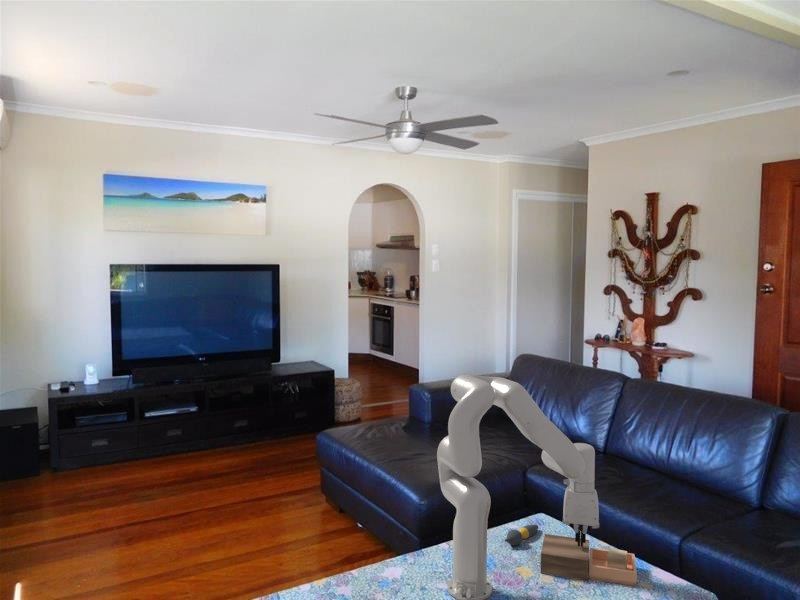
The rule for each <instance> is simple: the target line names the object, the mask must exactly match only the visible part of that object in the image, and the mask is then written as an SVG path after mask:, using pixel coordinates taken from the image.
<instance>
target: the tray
mask: <svg viewBox="0 0 800 600" xmlns="http://www.w3.org/2000/svg"><path fill="white" fill-rule="evenodd" d="M608 552H609V549H601V548H594V547H589V571H588V580H593V581H598V582H606V583H612V584H618V585H626V586H631V587H637V583H638V576H637V575H638V573H637V564H636V562H637V561H636V557H635V553H632V552H631V553H630V552H627V569H626V570H623V569H616V568H610V567H607V557H608Z"/></svg>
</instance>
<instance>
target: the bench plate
mask: <svg viewBox="0 0 800 600" xmlns="http://www.w3.org/2000/svg"><path fill="white" fill-rule="evenodd" d="M589 556H590V539H586V543H583V547H581V538H580V546H578V542H575V537H570V536H563V535H555V534H550V533H544V537H543V542H542V546H541V552H540V574H545V575H549V576H557V577H563V578H570V579H577V580H583V581H589Z"/></svg>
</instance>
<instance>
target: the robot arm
mask: <svg viewBox="0 0 800 600" xmlns="http://www.w3.org/2000/svg"><path fill="white" fill-rule="evenodd" d="M450 394H451V396H452V398H453V399H454V400H455V402H457V403H456V404H455V406H454V407H453V408H452V411H451V412H450V415H449V416H448V417H449V418H448V422H447V424H448V425H447V431H448V435H446V436H445V437H443V439H442V440H441V441H440V442H439V444H438V447H437V451H436V459H437V466H438V467H437V468H438V476H439V484H440V490H441V492H442V495H443V496H444V498H445V499H446V500H447V501H448V502H450V504H452V505H453V506H454V507H455V509H456V513H455V518H454V520H453V527H452V578H450V579H449V580H448V582H447V585H446V586H447V592H448V593H449V595H451V596H452V597H453V598H454V599H456V600H486V599H489V598H490V596H491V595H492V593H493V586H492V584H491V582H490V581H489V580H488V579H487V577H488V575H487V574H488V573H487V572H488V570H487V568H488V519H489V515H490V509H491V503H492V502H491V500H492V499H491V496H490V492H489V491H488V489H487V488H486V487H485V485H484V484H483V483H481V482H480V481H479V480H477V479H476V478H475V477H476V476H478V474H479V473H480V472H481V469H482V465H483V459H482V458H483V457H482V451H481V440H480V423H481V420H482V418H483V416H484V415H485V414H486V413H487V411H488V410H490V408H492V406H493V405H494V406H497V407H498V408H501V409H502V410H503V411H504V412H505V413H506V415H507V416H508V417H509V419H511V421H512V422H513V424H514V425H515V426H516V428H517V429H518V430H519V432H520V433H521V434H522V435H523V436H524V437H525V438H526V439H527V440H529V442H531V443H532V444H534V445H536V446H537V447H538V448H540V449H541V450H542V451H541V456H540V457H541V460H542V463H543V464H544V466H546V467H547V468H549V469H550V470H553V471H554V472H557V473H558V474H560V475H561V476H564V477H565V478H567V479H563V485H566V486H567V487H566V488H565V490H564V491H565V492H564V496H563V497H564V498H563V508H562V509H563V510H562V511H563V512H562V514H563V515H562V522H561V523H562V524H564V525H566V526H569V527H570V528H571V529H572V530H573V531H574V533H575V535H574V536H575V537H574V538H575V542H578V546H580V539H581V547H583V543H586V540H587V539H586V536H587V535H586V534H587V533H588V532H589V531H591V530H593V529H599V528H600V522H599V520H600V519H599V518H600V517H599V516H600V515H599V497H598V492H597V490H596V489H595V469H596V467H595V465H596V461H595V460H596V451H595V450H596V449H595V448H594V447H593V445H591V444H588V443H584V442H574V443H573V442H572V441H571V439H570V438H569V437H567V435H566V434H564V433H563V432H562V431H561V430H560V428H558V426H556V425H555V424H554V422H553V421H551V420H550V419H549V418H548V417H547V416H546V414H544V412H543V411H542V410H541V408H540V407H539V406H538V404H537V403H536V401H535V400H534V399H533V397H532V396H531V394H530V393H529V392H528V391H527V390H526V388H525V387H524V386H523V385H521V383H518V382H516V381H513V380H510V379H507V378H505V377H498V376H485V375H475V374H474V375H473V374H460V375H458V376H457V377H455V378H454V379H453V381H452V382H451V384H450ZM581 525H582V528H581V529H580V526H581Z"/></svg>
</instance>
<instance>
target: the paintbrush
mask: <svg viewBox="0 0 800 600" xmlns="http://www.w3.org/2000/svg"><path fill="white" fill-rule="evenodd" d="M538 529H539V525H537V524H528V525H525V526H522V527H521V528H519V529H510V530H509V531H508V532H507V534H506V535H507V536H506V538H505V539H504V542H506V543H508V544H510V545H511V546H519V545H521V543H523V542H522V541H523V539H524V540H525V539H528V538H531V537H532V536H534V535H535V534H536V533H537V532H538Z"/></svg>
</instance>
